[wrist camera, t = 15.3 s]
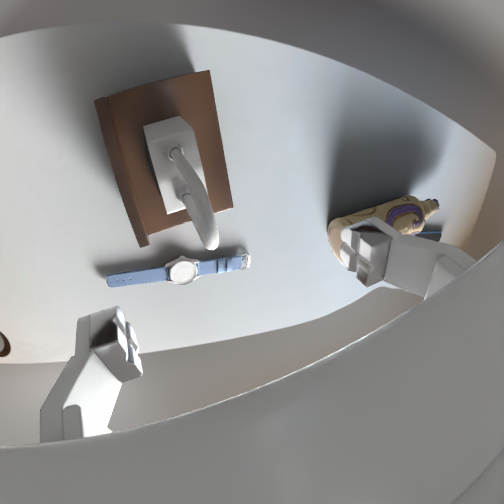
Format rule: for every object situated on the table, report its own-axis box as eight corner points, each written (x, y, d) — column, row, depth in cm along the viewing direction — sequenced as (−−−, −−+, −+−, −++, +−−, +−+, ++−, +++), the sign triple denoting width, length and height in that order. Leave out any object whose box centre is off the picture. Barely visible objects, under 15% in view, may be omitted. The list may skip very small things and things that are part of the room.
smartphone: (432, 259, 62) (397, 264, 56) (429, 257, 63) (394, 262, 57) (443, 232, 58) (410, 233, 52) (440, 230, 59) (407, 231, 53)
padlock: (199, 182, 27) (263, 271, 15) (157, 195, 26) (186, 299, 14) (184, 114, 23) (244, 144, 11) (138, 127, 22) (142, 173, 10)
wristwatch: (249, 270, 43) (252, 274, 42) (109, 291, 36) (109, 296, 35) (252, 245, 40) (255, 248, 40) (103, 265, 33) (103, 269, 33)
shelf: (196, 73, 26) (215, 68, 20) (217, 188, 34) (240, 215, 28) (104, 98, 24) (93, 100, 18) (137, 214, 32) (140, 248, 26)
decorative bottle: (325, 253, 47) (349, 276, 42) (325, 212, 43) (353, 232, 37) (423, 215, 53) (447, 230, 48) (429, 182, 49) (454, 195, 44)
